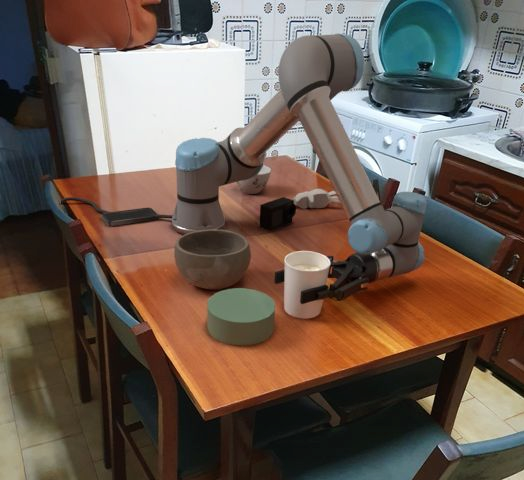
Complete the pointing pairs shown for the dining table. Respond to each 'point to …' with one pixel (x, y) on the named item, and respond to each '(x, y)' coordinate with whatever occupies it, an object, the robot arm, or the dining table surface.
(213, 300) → the stand
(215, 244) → the bowl
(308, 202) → the bunny figurine
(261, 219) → the digital camera
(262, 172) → the teacup
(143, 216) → the phone
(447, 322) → the dining table surface
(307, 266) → the candle holder
